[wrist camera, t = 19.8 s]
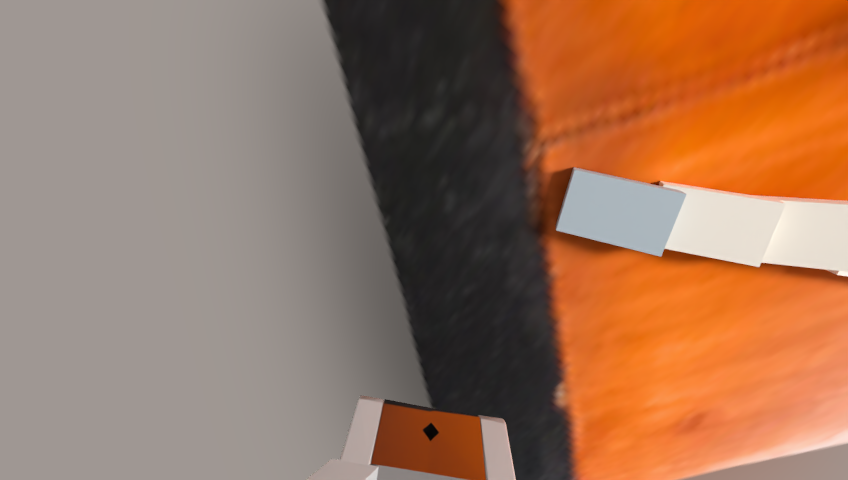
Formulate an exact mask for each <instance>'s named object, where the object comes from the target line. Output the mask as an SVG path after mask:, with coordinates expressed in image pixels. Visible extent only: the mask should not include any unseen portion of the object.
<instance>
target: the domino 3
mask: <svg viewBox="0 0 848 480" xmlns="http://www.w3.org/2000/svg"><path fill="white" fill-rule="evenodd" d="M753 196H757V195H753ZM759 197H766V198H772V199H777V200H779V201H782V202H784V203H786V205H785V207H784V210H783V212H782V214H781V217H780V219H779V222H778V224H777V226H776V229H775V231H774V234H773V236H772V238H771V241H770V243H769V245H768V248H767V250H766V253H765V255H764V257H763V260H762V262H761V263H770V264H779V265H789V266H798V267H807V268H817V269H826V270H836V271H845V272H848V201H840V200H823V199H807V198H790V197H773V196H759Z"/></svg>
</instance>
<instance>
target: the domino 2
mask: <svg viewBox="0 0 848 480" xmlns="http://www.w3.org/2000/svg"><path fill="white" fill-rule="evenodd" d="M659 186H663V187H667V188H672V189H676V190H681V191H682V192H684V193H686V197H685V199H684V202H683V204H682V207H681V209H680V212H679V214H678V217H677V219H676V221H675V224H674V226H673V229H672V231H671V234H670V236H669V239H668V241H667V243H666V246H665V248H664V249H669V250H674V251H679V252H684V253H689V254H695V255H700V256H705V257H710V258H715V259H720V260H725V261H730V262H735V263H741V264H746V265H751V266H756V267H760V264H761V262H762V260H763V257H764V255H765V253H766V250H767V248H768V245H769V243H770V241H771V238H772V236H773V234H774V231H775V229H776V226H777V224H778V222H779V219H780V217H781V214H782V212H783V210H784V207H785V205H786V203H784V202H782V201H779V200H777V199H772V198H766V197H759V196H753V195H746V194H740V193H734V192H727V191H721V190H714V189H708V188H702V187H695V186H689V185H682V184H676V183H670V182H663V181H660V182H659Z"/></svg>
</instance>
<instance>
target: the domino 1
mask: <svg viewBox="0 0 848 480" xmlns="http://www.w3.org/2000/svg"><path fill="white" fill-rule="evenodd" d="M685 197H686V193H684V192H682V191H681V190H676V189H672V188H667V187H663V186H658V185H653V184H649V183H644V182H640V181H635V180H630V179H626V178H621V177H616V176H612V175H607V174H603V173H598V172H593V171H589V170H584V169H579V168H575V167H573V170H572V174H571V177H570V180H569V183H568V187H567V190H566V193H565V196H564V200H563V203H562V206H561V210H560V213H559V216H558V219H557V223H556V231H560V232H564V233H568V234H572V235H576V236H580V237H584V238H588V239H592V240H596V241H600V242H604V243H608V244H612V245H616V246H620V247H624V248H628V249H632V250H636V251H640V252H644V253H648V254H652V255H656V256H660V257H661V256H662V253H663V251H664V248H665V246H666V243H667V241H668V239H669V236H670V234H671V231H672V229H673V226H674V224H675V221H676V219H677V217H678V214H679V212H680V209H681V207H682V204H683V202H684V199H685Z"/></svg>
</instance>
